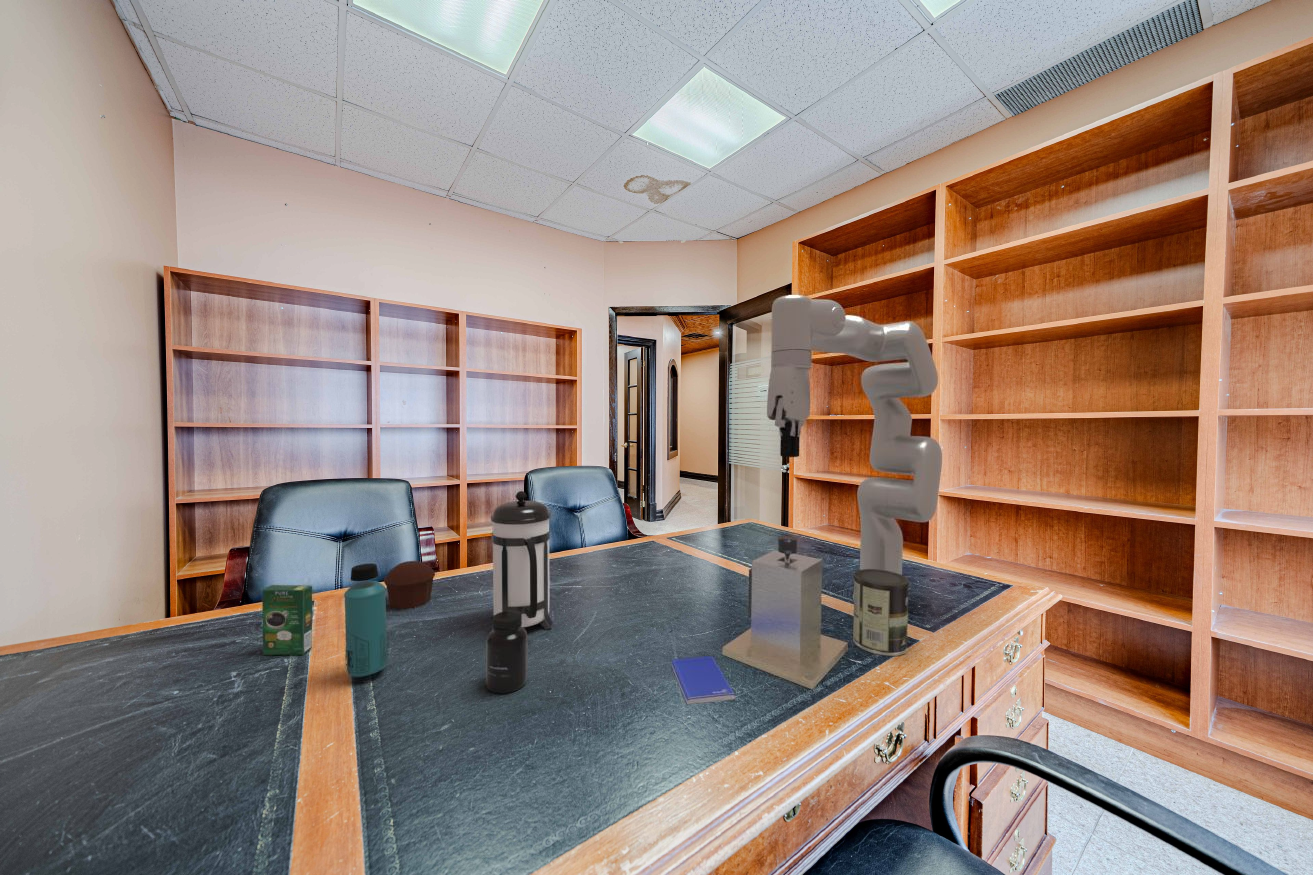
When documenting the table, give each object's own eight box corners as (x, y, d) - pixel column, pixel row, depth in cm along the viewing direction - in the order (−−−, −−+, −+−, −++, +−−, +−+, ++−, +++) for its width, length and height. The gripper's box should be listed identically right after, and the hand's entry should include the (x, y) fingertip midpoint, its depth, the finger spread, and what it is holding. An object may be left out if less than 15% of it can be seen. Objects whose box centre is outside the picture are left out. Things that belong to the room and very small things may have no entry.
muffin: (375, 604, 116) (374, 564, 115) (419, 590, 125) (419, 553, 124) (399, 615, 109) (399, 573, 108) (444, 600, 118) (444, 561, 118)
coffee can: (898, 635, 100) (900, 570, 100) (914, 659, 90) (916, 587, 90) (847, 630, 102) (849, 566, 102) (858, 653, 92) (859, 583, 92)
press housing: (765, 624, 105) (766, 542, 105) (847, 650, 94) (849, 558, 93) (722, 654, 92) (723, 561, 91) (812, 689, 80) (814, 582, 79)
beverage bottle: (396, 669, 86) (395, 561, 85) (363, 689, 79) (361, 573, 79) (370, 663, 88) (368, 558, 87) (335, 682, 81) (333, 568, 81)
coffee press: (467, 634, 100) (465, 494, 98) (516, 606, 114) (515, 484, 113) (535, 650, 93) (534, 500, 92) (577, 618, 108) (577, 489, 107)
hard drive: (735, 692, 77) (712, 655, 89) (687, 697, 76) (671, 659, 88) (735, 702, 77) (712, 663, 89) (687, 707, 76) (671, 667, 88)
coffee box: (315, 648, 93) (313, 583, 93) (304, 655, 91) (303, 588, 90) (273, 648, 93) (271, 583, 93) (261, 656, 90) (259, 589, 90)
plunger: (778, 611, 97) (779, 533, 96) (809, 621, 93) (811, 538, 92) (762, 622, 92) (763, 539, 91) (795, 632, 88) (796, 545, 87)
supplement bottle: (489, 699, 77) (488, 627, 76) (483, 678, 83) (482, 612, 82) (531, 688, 80) (531, 619, 79) (523, 669, 86) (522, 605, 85)
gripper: (789, 366, 99) (788, 453, 99) (754, 359, 87) (753, 458, 88) (824, 364, 94) (823, 455, 95) (793, 356, 82) (791, 460, 83)
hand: (789, 456), depth 91 cm, fingers closed
